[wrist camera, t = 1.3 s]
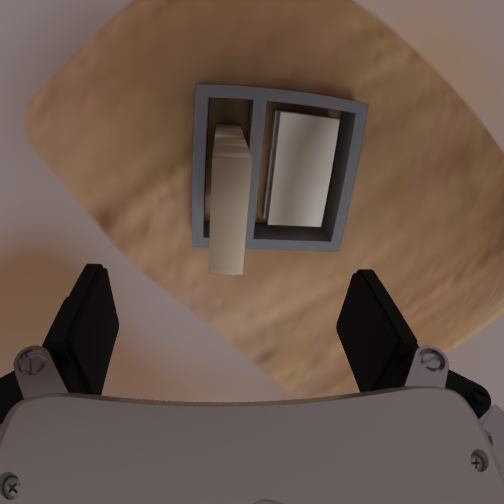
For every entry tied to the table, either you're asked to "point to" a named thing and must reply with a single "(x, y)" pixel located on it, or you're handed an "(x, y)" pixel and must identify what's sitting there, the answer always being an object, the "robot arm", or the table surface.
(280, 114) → the offcut upper
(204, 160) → the rack
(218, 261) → the birch sheet
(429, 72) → the table surface
